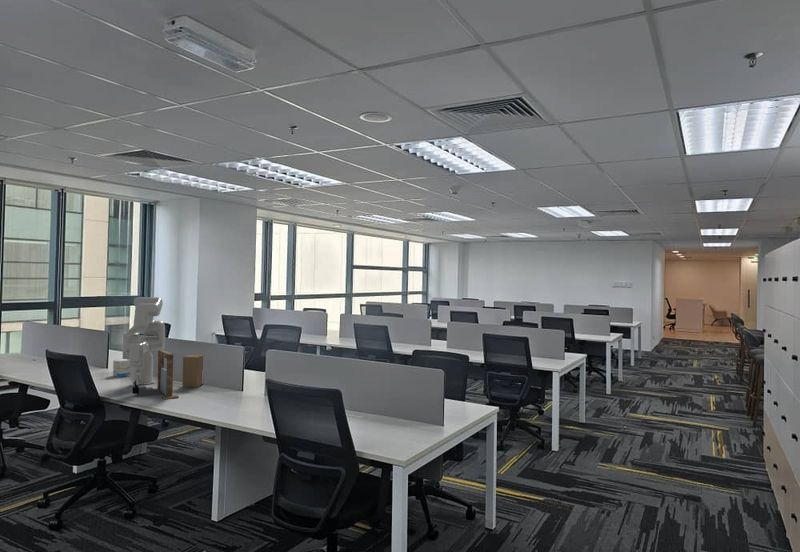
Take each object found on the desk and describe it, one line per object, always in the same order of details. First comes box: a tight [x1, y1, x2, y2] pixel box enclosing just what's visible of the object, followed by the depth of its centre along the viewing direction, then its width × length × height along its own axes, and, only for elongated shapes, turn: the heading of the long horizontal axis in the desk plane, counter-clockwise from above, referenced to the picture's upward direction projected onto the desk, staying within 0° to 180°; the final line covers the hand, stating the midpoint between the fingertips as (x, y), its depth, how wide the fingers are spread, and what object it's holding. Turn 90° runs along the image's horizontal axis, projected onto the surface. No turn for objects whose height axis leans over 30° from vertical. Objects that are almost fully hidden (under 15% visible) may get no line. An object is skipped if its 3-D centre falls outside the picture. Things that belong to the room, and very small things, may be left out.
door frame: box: [152, 349, 180, 400], centre depth 334 cm, size 31×8×26 cm, turn 38°
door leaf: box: [160, 367, 167, 395], centre depth 334 cm, size 18×2×15 cm, turn 38°
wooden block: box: [182, 354, 204, 388], centre depth 360 cm, size 10×10×20 cm
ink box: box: [112, 358, 131, 378], centre depth 389 cm, size 9×8×12 cm
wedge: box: [137, 384, 161, 397], centre depth 333 cm, size 6×12×5 cm, turn 128°
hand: (135, 393), depth 328 cm, fingers closed
